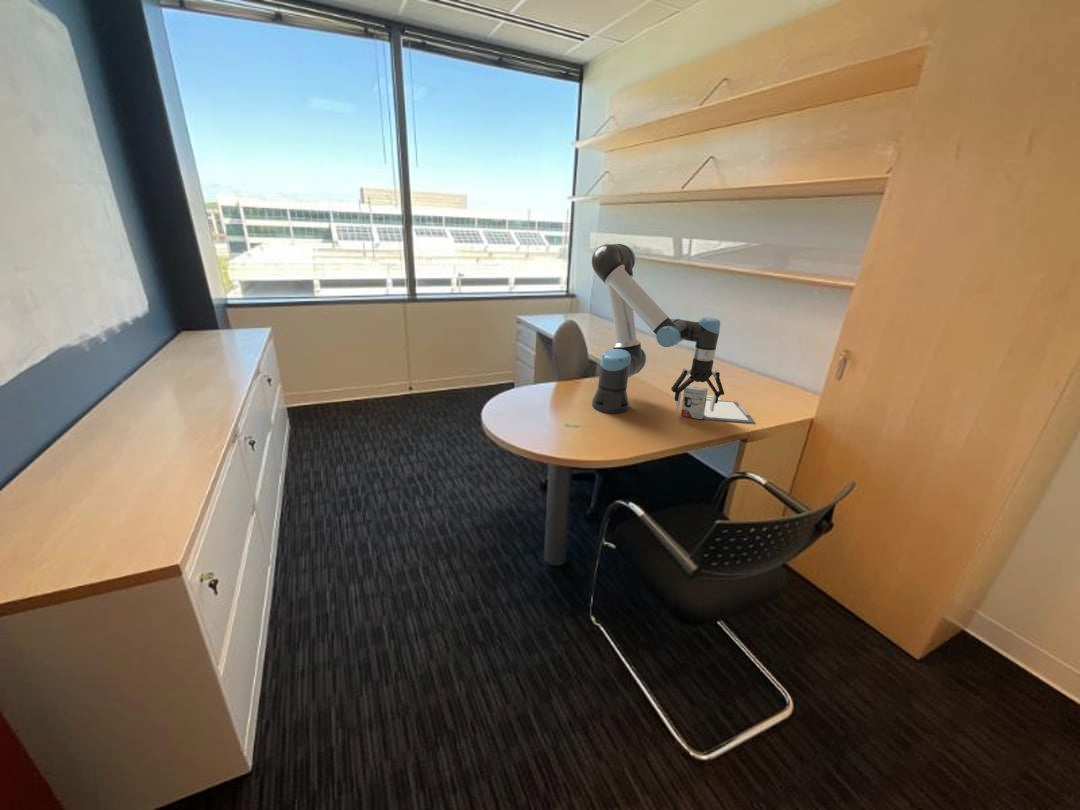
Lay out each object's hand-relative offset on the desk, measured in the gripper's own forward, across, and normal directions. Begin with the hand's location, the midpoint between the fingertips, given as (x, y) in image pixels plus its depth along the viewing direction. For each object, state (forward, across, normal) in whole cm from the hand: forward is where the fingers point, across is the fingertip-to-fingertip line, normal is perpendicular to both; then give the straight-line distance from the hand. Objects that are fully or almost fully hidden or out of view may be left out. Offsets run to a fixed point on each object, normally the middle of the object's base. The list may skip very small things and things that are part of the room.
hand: (694, 409), depth 178 cm
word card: (+3, +14, +23) cm, 27 cm away
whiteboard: (+3, +14, +8) cm, 16 cm away
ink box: (+3, 0, 0) cm, 3 cm away
